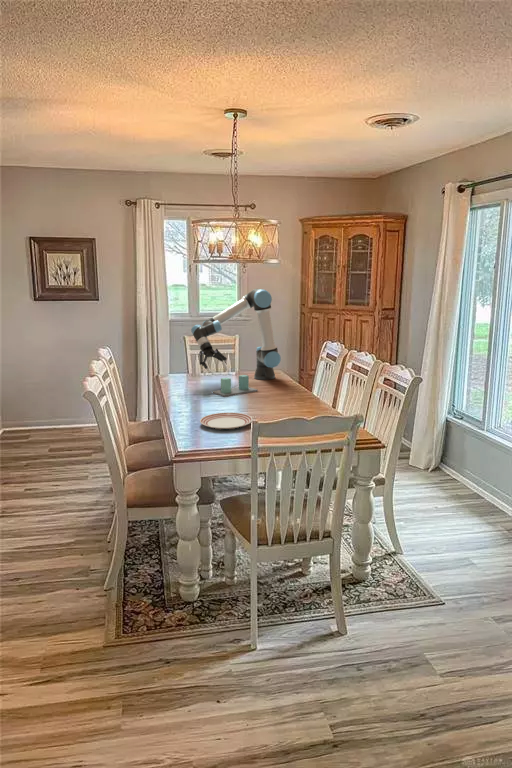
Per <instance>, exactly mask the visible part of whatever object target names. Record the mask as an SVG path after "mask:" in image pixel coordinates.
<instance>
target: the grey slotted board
mask: <svg viewBox="0 0 512 768" xmlns="http://www.w3.org/2000/svg"><path fill="white" fill-rule="evenodd" d="M256 392H257V393H258V389H257V388H253V387H250V386H249V389H246V390H241V389H239V386H237V387H231V393H221V389H219V390H213V391H212V392H211V394H214V395H217V396H220V397H223V398H226V397H227V398H228V397H233V396H238V395H244V394H249V393H256Z"/></svg>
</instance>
